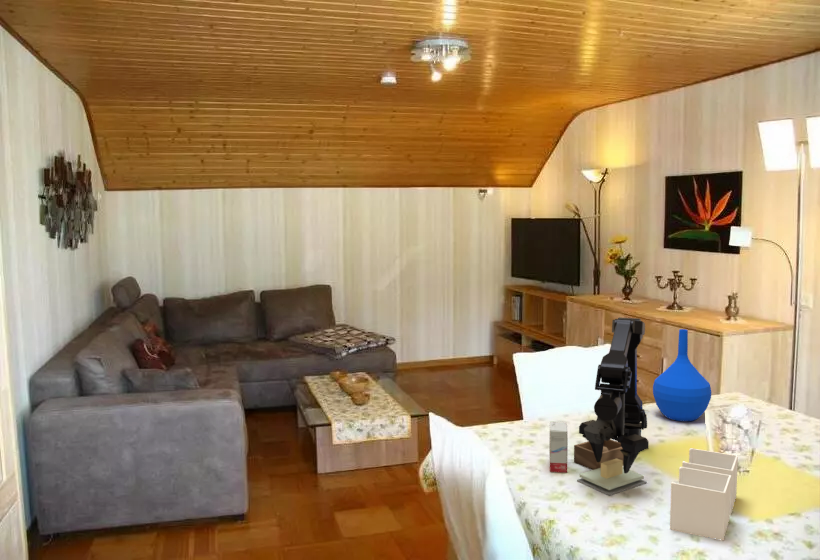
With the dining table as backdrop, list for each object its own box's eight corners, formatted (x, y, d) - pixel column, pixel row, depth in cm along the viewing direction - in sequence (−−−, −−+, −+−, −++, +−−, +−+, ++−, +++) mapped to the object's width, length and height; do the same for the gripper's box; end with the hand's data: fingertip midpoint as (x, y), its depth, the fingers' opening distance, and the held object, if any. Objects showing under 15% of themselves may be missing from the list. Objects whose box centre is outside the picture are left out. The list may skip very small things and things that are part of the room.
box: (603, 453, 203) (604, 436, 202) (628, 463, 195) (628, 445, 195) (573, 462, 197) (574, 445, 196) (598, 472, 189) (598, 454, 188)
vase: (657, 424, 228) (659, 334, 224) (647, 408, 246) (649, 324, 242) (716, 426, 225) (720, 335, 221) (702, 410, 243) (705, 325, 239)
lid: (613, 469, 190) (614, 451, 189) (643, 481, 182) (644, 462, 181) (579, 480, 183) (579, 461, 183) (608, 493, 175) (609, 473, 174)
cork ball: (602, 454, 200) (603, 444, 200) (611, 457, 198) (611, 447, 198) (595, 456, 199) (595, 446, 199) (603, 459, 196) (603, 449, 196)
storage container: (723, 541, 151) (725, 493, 149) (669, 530, 156) (671, 483, 155) (736, 498, 172) (737, 455, 171) (688, 489, 178) (690, 447, 176)
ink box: (567, 473, 189) (568, 431, 187) (549, 472, 190) (549, 430, 188) (566, 461, 197) (567, 421, 196) (549, 460, 198) (549, 420, 197)
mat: (613, 469, 191) (613, 468, 191) (646, 483, 181) (646, 481, 181) (576, 481, 183) (576, 479, 183) (609, 495, 174) (609, 494, 174)
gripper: (564, 405, 184) (563, 462, 186) (619, 424, 168) (618, 486, 170) (594, 398, 190) (593, 454, 191) (650, 416, 174) (649, 476, 176)
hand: (612, 467), depth 182 cm, fingers open, 9 cm apart
